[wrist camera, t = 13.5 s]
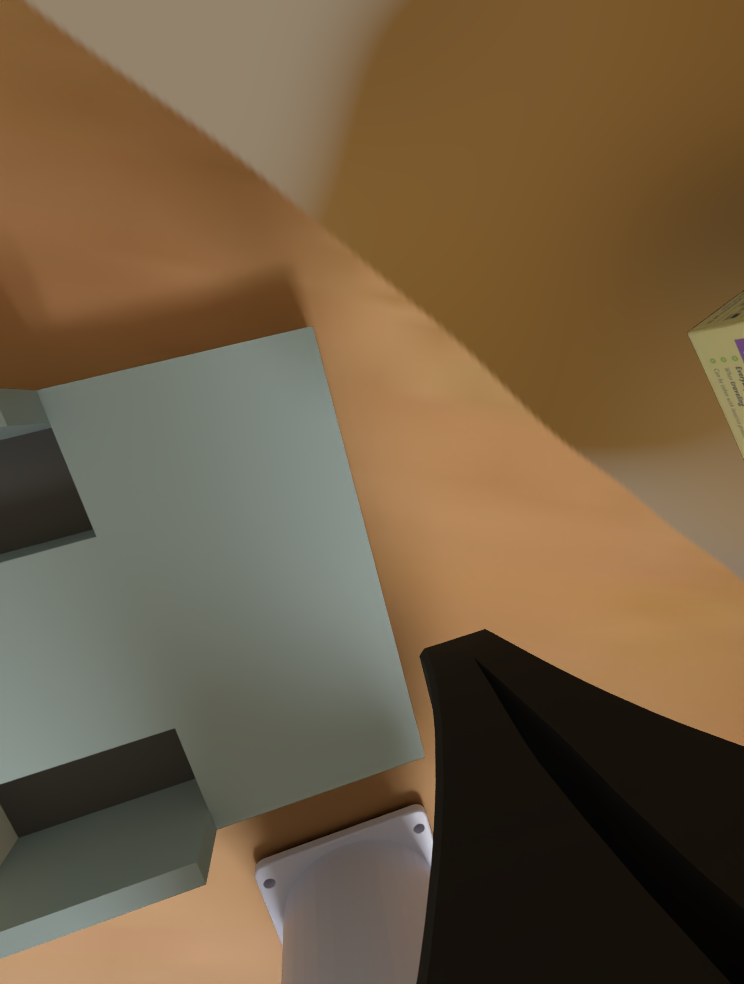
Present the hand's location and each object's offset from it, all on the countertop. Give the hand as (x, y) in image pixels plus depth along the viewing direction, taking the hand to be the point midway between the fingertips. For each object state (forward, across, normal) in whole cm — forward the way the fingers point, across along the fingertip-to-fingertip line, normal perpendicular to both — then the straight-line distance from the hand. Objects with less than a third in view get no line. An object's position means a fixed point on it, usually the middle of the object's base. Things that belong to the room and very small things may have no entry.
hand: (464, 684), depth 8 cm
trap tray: (+10, +13, 0) cm, 16 cm away
